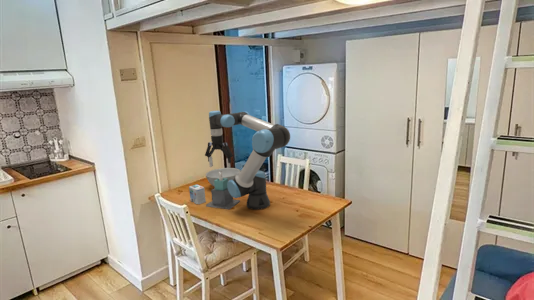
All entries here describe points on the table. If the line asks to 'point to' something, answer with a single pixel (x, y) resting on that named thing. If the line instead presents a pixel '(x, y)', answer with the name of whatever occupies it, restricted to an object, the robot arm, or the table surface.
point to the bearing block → (222, 199)
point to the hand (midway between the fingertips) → (220, 167)
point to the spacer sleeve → (221, 184)
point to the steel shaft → (220, 176)
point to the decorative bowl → (226, 173)
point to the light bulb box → (197, 194)
